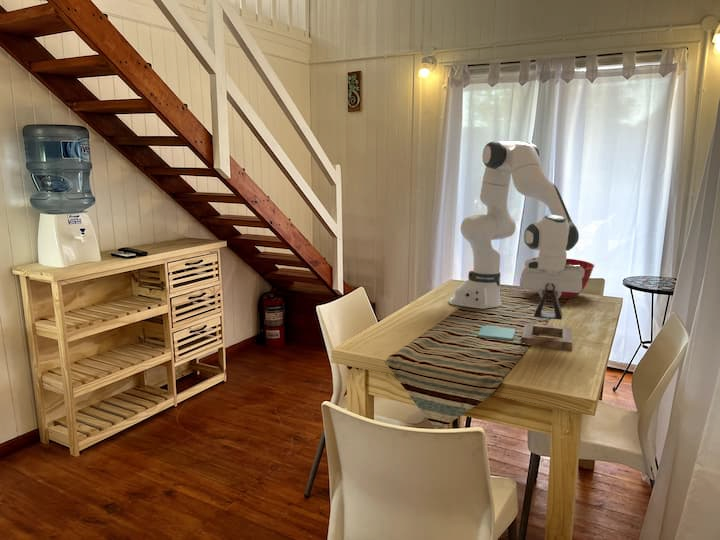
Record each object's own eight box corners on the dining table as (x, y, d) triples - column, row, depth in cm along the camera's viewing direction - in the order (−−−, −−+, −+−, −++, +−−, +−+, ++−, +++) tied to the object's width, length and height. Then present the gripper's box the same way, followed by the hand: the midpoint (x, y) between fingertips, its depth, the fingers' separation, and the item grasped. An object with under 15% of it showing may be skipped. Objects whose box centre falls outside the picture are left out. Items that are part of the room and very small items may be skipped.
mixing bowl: (587, 306, 233) (590, 271, 230) (520, 298, 247) (522, 264, 244) (595, 292, 257) (597, 260, 254) (533, 286, 271) (535, 256, 268)
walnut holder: (521, 344, 183) (521, 337, 183) (524, 329, 200) (525, 322, 199) (571, 349, 178) (572, 342, 177) (571, 334, 194) (571, 327, 194)
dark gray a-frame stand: (562, 315, 188) (565, 281, 186) (561, 319, 183) (564, 285, 181) (535, 312, 192) (537, 279, 189) (533, 316, 186) (536, 282, 184)
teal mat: (477, 336, 191) (477, 334, 191) (482, 327, 202) (482, 325, 202) (512, 340, 187) (512, 338, 187) (515, 330, 198) (515, 328, 198)
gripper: (584, 263, 183) (581, 303, 186) (521, 260, 190) (519, 298, 193) (585, 267, 177) (581, 308, 180) (520, 263, 184) (518, 302, 187)
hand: (549, 302), depth 186 cm, fingers closed on dark gray a-frame stand, 2 cm apart
